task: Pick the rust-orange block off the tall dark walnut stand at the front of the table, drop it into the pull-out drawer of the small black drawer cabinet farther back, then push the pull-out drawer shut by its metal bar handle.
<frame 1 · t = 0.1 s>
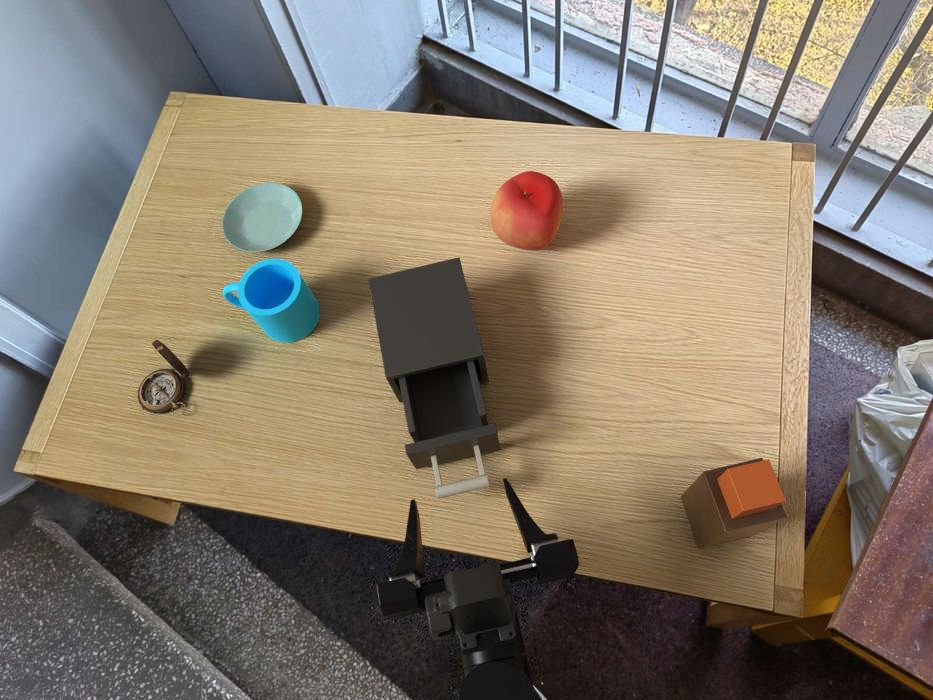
hand: (459, 489, 67), 14 cm above the table, tool horizontal, fingers open, 9 cm apart
pull-out drawer: (448, 421, 80), point 4 cm above the table, slide at 8.0 cm
saucer: (268, 225, 99), on the table
mug: (277, 314, 93), on the table
apple: (528, 236, 95), on the table
block: (744, 493, 66), point 12 cm above the table, touching stand
drawer cabinet: (433, 344, 89), on the table
stand: (714, 516, 77), on the table
compass: (173, 393, 90), on the table
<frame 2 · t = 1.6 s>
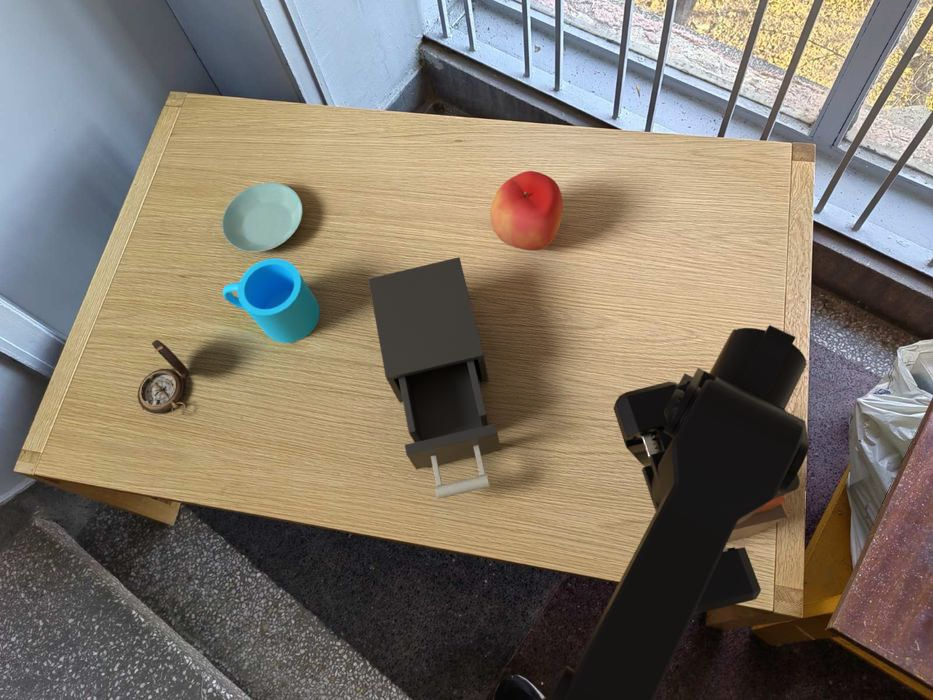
hand: (665, 509, 65), 13 cm above the table, tool pointing down, fingers open, 9 cm apart
nothing on the table moved.
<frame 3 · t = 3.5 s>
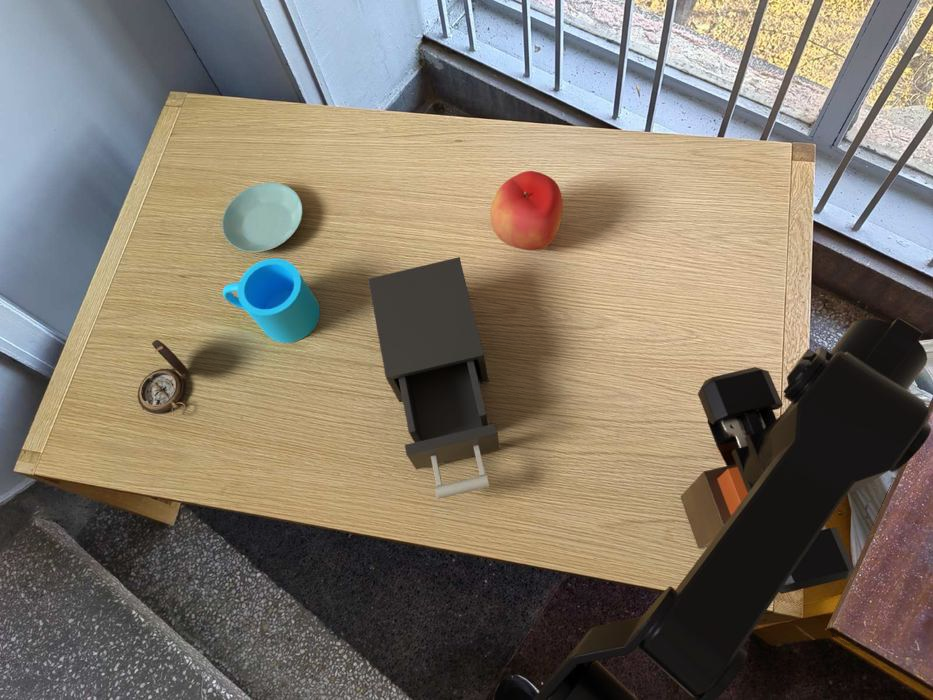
hand: (743, 494, 66), 12 cm above the table, tool pointing down, fingers closed on stand, 6 cm apart
nothing on the table moved.
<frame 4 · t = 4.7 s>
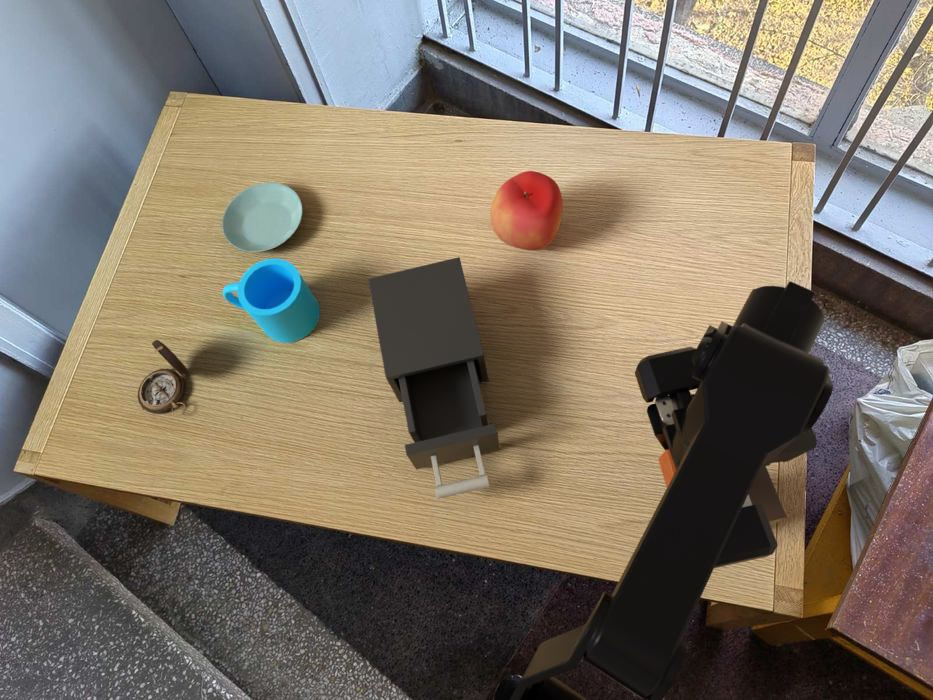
hand: (682, 475, 67), 13 cm above the table, tool pointing down, fingers closed on block, 4 cm apart
block: (683, 474, 67), point 13 cm above the table, touching gripper
everything else where it was.
when the fingers open (8 cm above the table, at t = 8.2 s): block stays where it is, resting on pull-out drawer.
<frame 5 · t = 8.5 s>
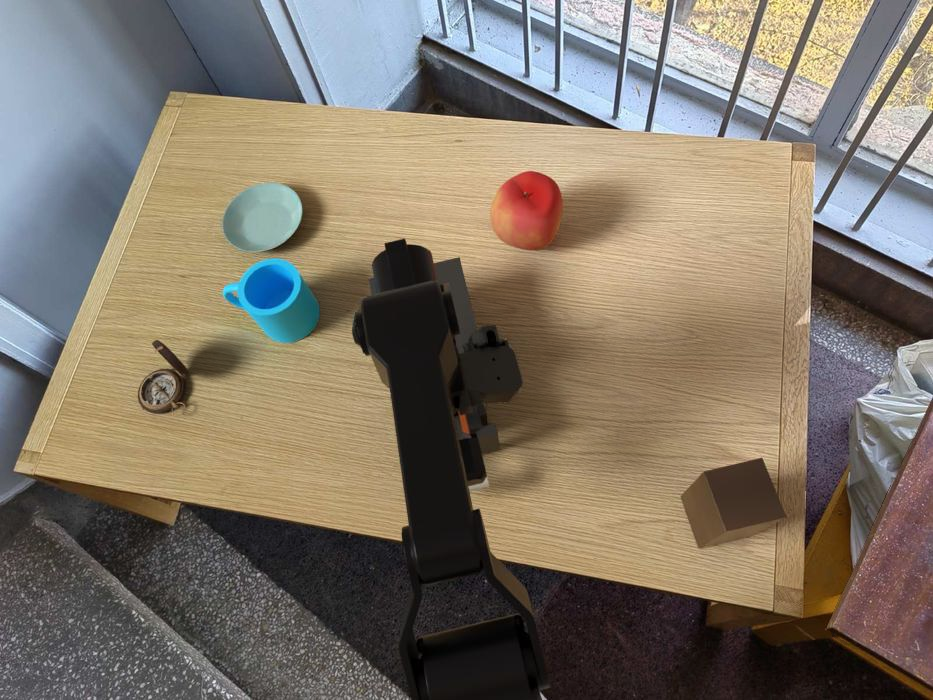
hand: (447, 422, 76), 8 cm above the table, tool pointing down, fingers open, 7 cm apart
pull-out drawer: (448, 421, 80), point 4 cm above the table, slide at 8.0 cm, touching block
block: (450, 426, 77), point 7 cm above the table, tilted 29°, touching pull-out drawer
everything else where it was.
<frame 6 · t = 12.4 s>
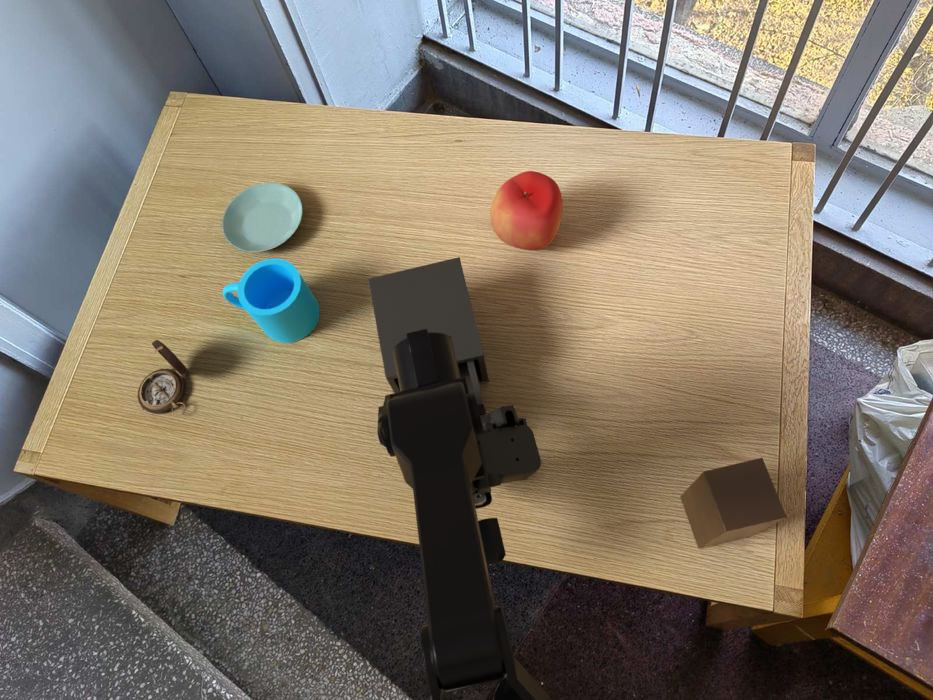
hand: (463, 490, 77), 4 cm above the table, tool pointing down, fingers closed
pull-out drawer: (446, 411, 81), point 4 cm above the table, slide at 6.7 cm, touching block, gripper
block: (452, 429, 80), point 4 cm above the table, tilted 90°, touching pull-out drawer
everything else where it was.
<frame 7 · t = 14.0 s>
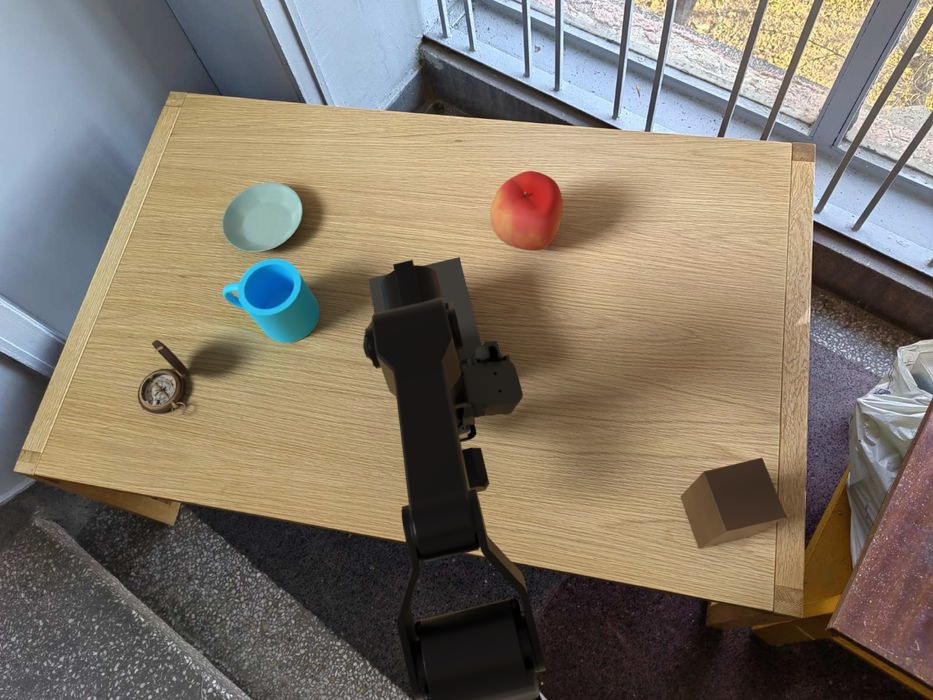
hand: (451, 434, 80), 4 cm above the table, tool pointing down, fingers closed
pull-out drawer: (435, 360, 83), point 4 cm above the table, slide at 0.0 cm, touching drawer cabinet, block, gripper
block: (441, 377, 83), point 4 cm above the table, tilted 90°, touching pull-out drawer
everything else where it was.
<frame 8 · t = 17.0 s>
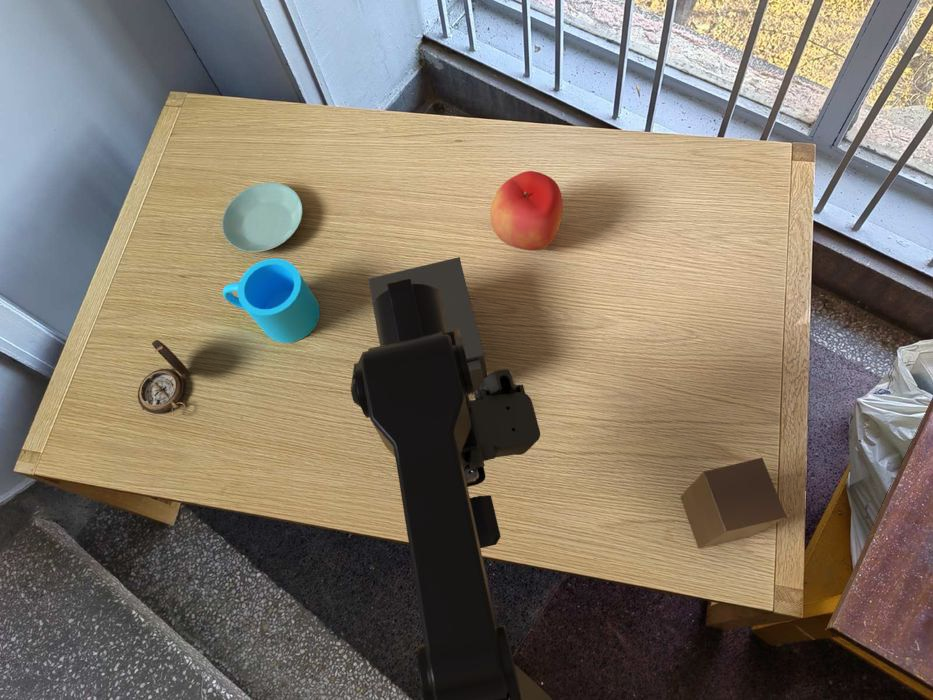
hand: (455, 469, 70), 12 cm above the table, tool pointing down, fingers closed
pull-out drawer: (435, 360, 83), point 4 cm above the table, slide at 0.0 cm, touching block
everything else where it was.
at the end: block inside the target area in the drawer cabinet (6.5 cm from its centre), point 4.0 cm above the drawer cabinet's base; pull-out drawer slide at 0.0 cm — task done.
